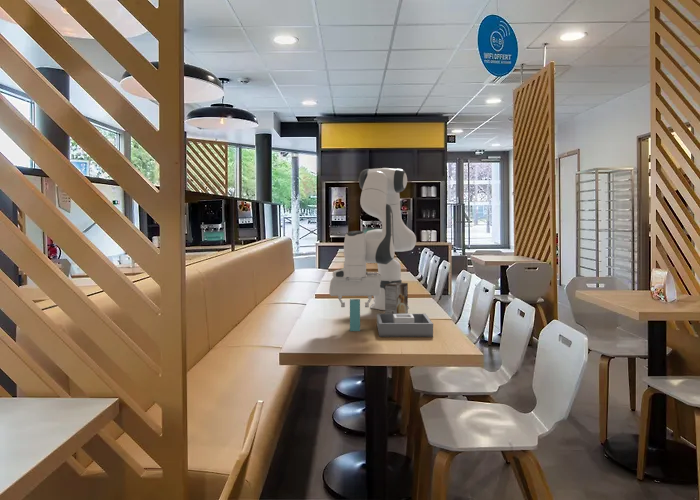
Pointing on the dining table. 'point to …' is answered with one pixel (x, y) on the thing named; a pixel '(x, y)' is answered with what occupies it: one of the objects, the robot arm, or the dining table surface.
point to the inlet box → (404, 325)
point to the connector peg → (354, 314)
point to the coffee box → (396, 298)
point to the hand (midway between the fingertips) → (354, 307)
